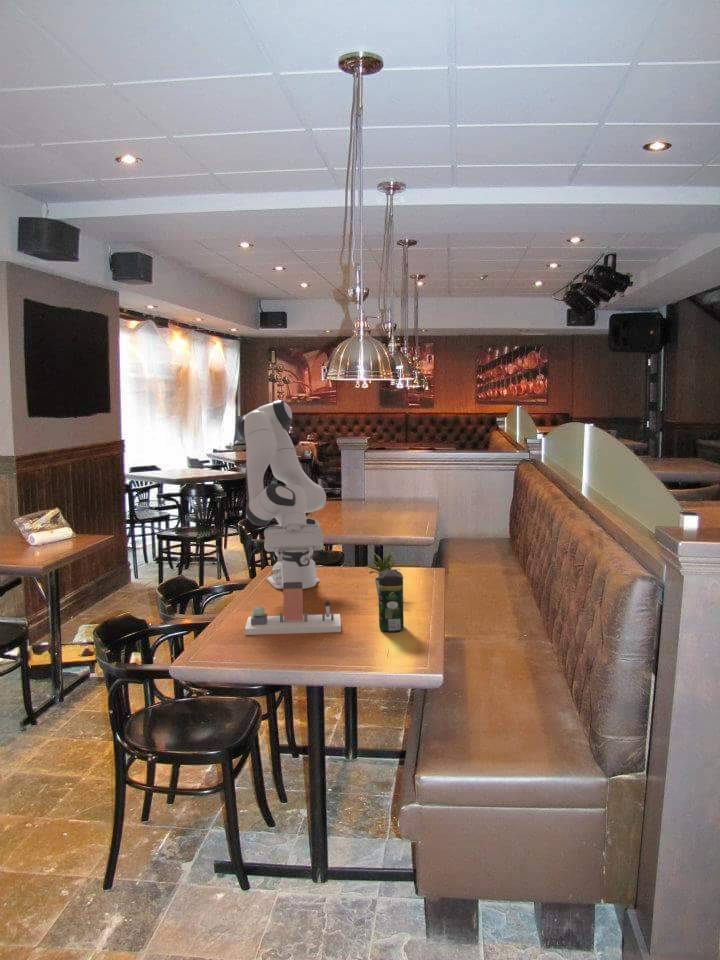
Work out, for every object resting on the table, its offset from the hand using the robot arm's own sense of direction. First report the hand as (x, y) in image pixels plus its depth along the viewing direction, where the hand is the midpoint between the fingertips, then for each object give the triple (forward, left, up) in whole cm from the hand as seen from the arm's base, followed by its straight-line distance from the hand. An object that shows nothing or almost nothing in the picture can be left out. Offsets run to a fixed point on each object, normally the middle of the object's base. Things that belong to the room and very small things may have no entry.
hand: (293, 560), depth 246 cm
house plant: (-1, +38, -19) cm, 42 cm away
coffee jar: (+31, +18, -19) cm, 40 cm away
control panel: (+12, -7, -19) cm, 23 cm away
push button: (+7, -17, -15) cm, 23 cm away
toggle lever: (+18, +2, -16) cm, 24 cm away
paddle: (+12, -7, -16) cm, 21 cm away
